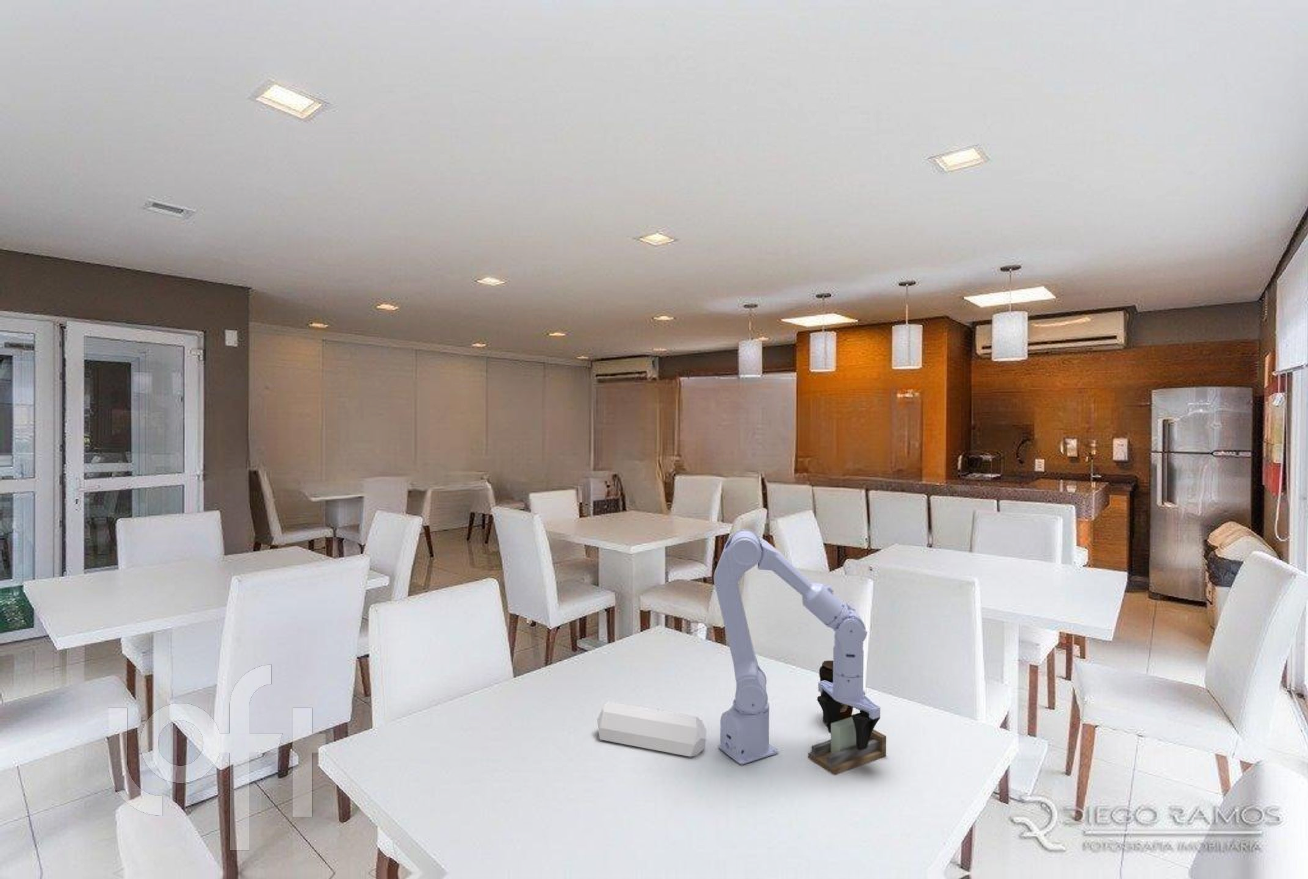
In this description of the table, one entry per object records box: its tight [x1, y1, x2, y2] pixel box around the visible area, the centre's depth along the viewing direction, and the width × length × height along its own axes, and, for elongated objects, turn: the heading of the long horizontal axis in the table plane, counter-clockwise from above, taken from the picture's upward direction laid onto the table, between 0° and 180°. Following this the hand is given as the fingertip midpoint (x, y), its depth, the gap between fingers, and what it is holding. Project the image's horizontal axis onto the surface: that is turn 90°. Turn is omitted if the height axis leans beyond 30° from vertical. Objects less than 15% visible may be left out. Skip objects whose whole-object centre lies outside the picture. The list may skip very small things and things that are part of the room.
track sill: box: [807, 728, 887, 776], centre depth 128 cm, size 14×7×4 cm, turn 119°
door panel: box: [830, 717, 857, 754], centre depth 128 cm, size 7×2×6 cm, turn 119°
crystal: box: [597, 701, 707, 757], centre depth 133 cm, size 7×7×24 cm
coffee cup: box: [818, 660, 854, 725], centre depth 142 cm, size 9×8×13 cm
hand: (847, 739), depth 128 cm, fingers open, 7 cm apart
